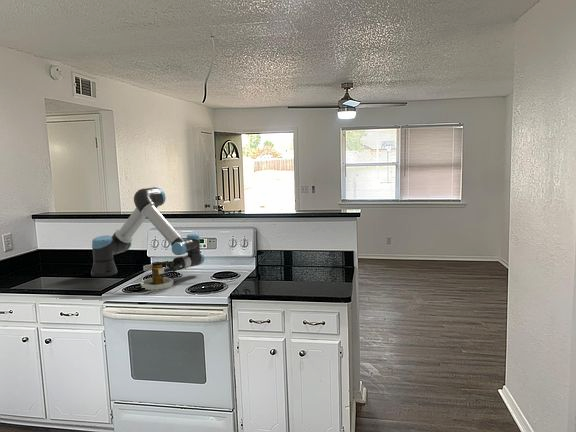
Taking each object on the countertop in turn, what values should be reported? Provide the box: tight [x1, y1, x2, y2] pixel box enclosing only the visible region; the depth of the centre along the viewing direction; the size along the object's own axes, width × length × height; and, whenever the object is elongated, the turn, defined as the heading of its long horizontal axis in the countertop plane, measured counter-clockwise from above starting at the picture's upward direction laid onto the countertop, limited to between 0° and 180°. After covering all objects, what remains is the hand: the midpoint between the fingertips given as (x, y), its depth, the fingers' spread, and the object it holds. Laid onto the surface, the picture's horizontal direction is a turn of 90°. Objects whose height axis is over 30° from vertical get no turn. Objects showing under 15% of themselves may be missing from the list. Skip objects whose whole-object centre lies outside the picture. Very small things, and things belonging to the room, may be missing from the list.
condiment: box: [147, 261, 164, 285], centre depth 257 cm, size 7×8×12 cm
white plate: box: [140, 276, 174, 291], centre depth 258 cm, size 17×17×2 cm
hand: (151, 270), depth 254 cm, fingers open, 13 cm apart
